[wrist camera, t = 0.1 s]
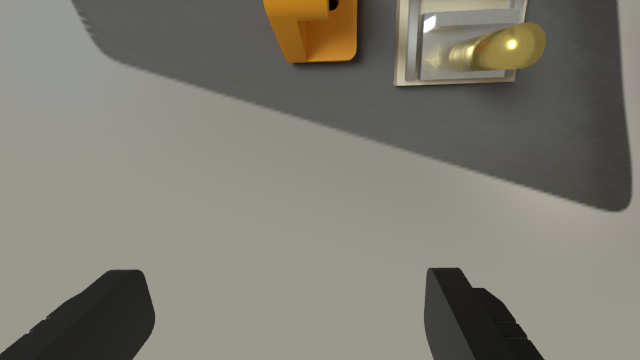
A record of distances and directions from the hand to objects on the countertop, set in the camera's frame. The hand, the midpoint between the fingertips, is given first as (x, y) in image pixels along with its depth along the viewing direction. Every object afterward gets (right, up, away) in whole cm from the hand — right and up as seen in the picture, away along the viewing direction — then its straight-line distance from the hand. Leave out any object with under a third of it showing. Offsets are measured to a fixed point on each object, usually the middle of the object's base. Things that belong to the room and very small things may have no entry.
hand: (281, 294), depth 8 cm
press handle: (+15, +17, +22) cm, 31 cm away
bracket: (+1, +22, +24) cm, 32 cm away
